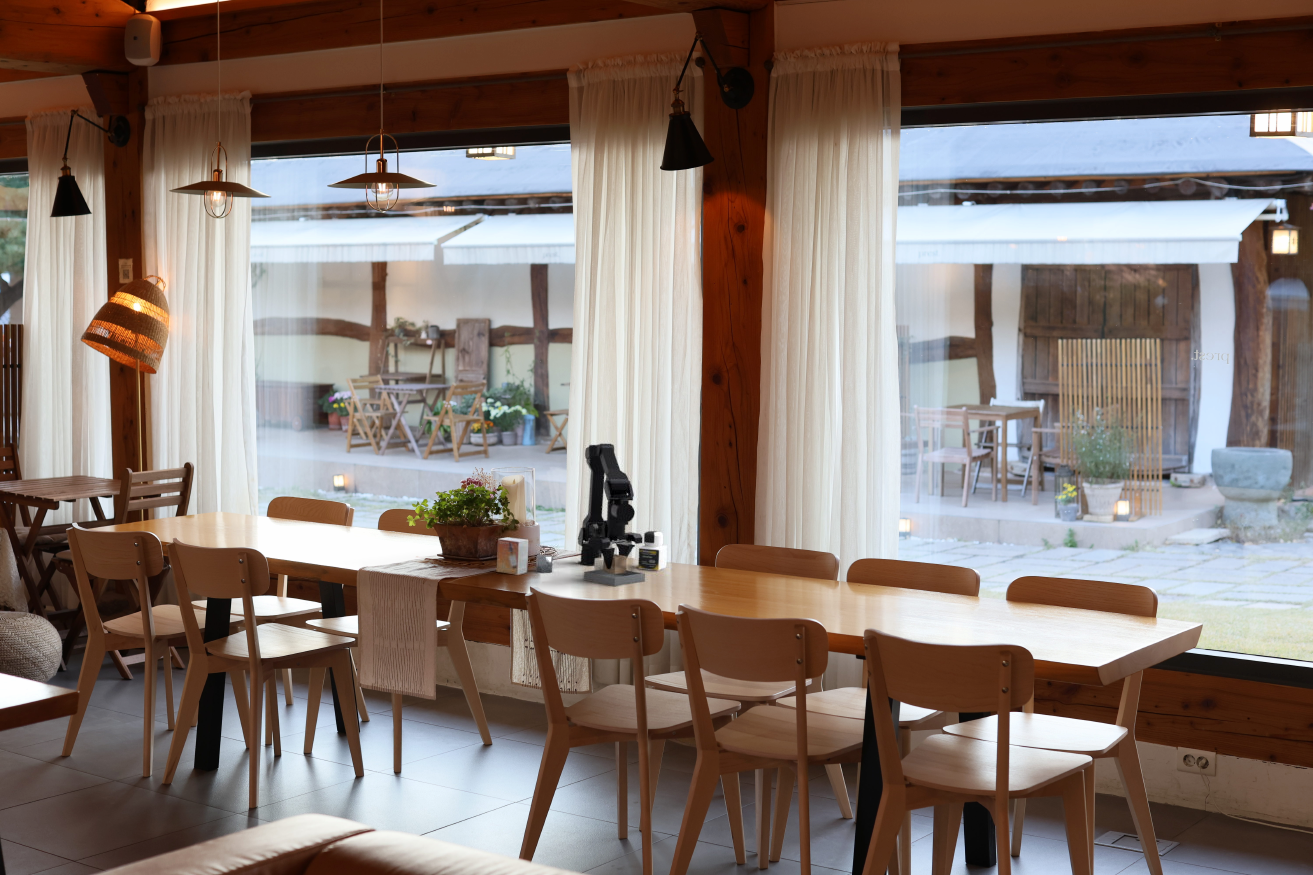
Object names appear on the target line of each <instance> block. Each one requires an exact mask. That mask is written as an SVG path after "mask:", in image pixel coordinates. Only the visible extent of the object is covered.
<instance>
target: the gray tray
mask: <svg viewBox="0 0 1313 875" xmlns="http://www.w3.org/2000/svg"><path fill="white" fill-rule="evenodd" d="M583 580H584V581H588V582H593V583H597V584H603V585H608V586H611V585H613V587H619V586H624V585H630V584H636V583H642V582H643V583H644V582H645V580H646V573H644V572H639V571H633V570H629V569H626V573H620V574H611V573H606V572H603V569H600V570H594V569H593V570H587V571H584V572H583ZM618 585H619V586H618Z"/></svg>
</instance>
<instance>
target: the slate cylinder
mask: <svg viewBox="0 0 1313 875" xmlns="http://www.w3.org/2000/svg"><path fill="white" fill-rule="evenodd" d="M535 564H536V565H535V571H536V573H540V574H551V573H553V555H552V554H537V555H536V563H535Z"/></svg>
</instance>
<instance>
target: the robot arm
mask: <svg viewBox="0 0 1313 875" xmlns="http://www.w3.org/2000/svg"><path fill="white" fill-rule="evenodd" d="M584 457H585V462H586V464H587V467H588V468H589V470H590V478H589V492H588V494H589V495H588V510H587V514H586V516H585V517H584V518H583V520H582V523H581V524H582V525H581V527H580V530H579V533H578V536H577V544H578V545H579V546H580V547H581V550H580V560H579V561H577V563H578V564H583V565H587V566H595V558H604V561H605V564H606V567H607V569H610V568H611V565H612V560H613V556H614V554H615V552H616V551H615V550H616V548H615V547H613V544H615V546H616V547H617V549H618V555H622V556H627V558H628V557H629V555H630V553H631V552H632V550H633V549H634V548H636V545H637V544H643V536H642V534H641V533H636V532H631V531H630V532H629V531H628V532H626V526H628V525H629V522H631V521H632V520H633V518H634V517H635V513H636V512H635V509H634V507H633V506H632V505H631V504H630V503H629V502H630V501H634V497H635V496H634V495H635V494H634V489H633V485H632V483H631V481H630V480H629V477H628V475H627V474H626V473H625V472H623V471H622V470H621V469H620V465H619V461H618V459H617V455H616V453H615V445H614V444H612V443H599V444H589V445H588V446H587V447H586V448H585V450H584ZM604 494H605V497H606V500H607V504H606V505H607V507H606V508H607V511H606V512H607V513H606V519H604V517H603V503H604ZM633 543H634V544H633Z"/></svg>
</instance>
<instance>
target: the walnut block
mask: <svg viewBox="0 0 1313 875" xmlns="http://www.w3.org/2000/svg"><path fill="white" fill-rule="evenodd" d="M602 558H603V557H602ZM627 559H628V557H627V556H622V555H619V554H616V553H614V556H613V560H612V565H611V568H610V569H607V567H606V564H605V561H604V558H603V572H606V573H611V574H620V573H626V570H627V561H628V560H627Z"/></svg>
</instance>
